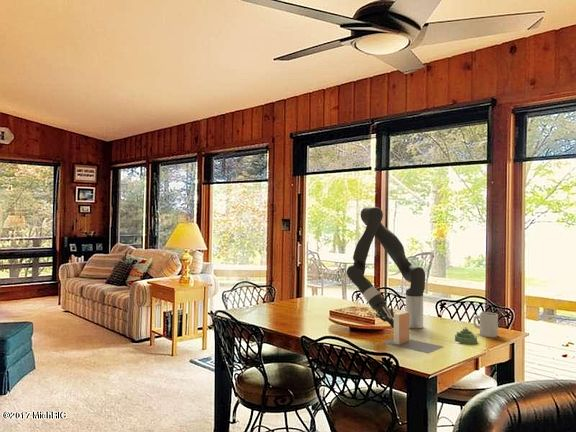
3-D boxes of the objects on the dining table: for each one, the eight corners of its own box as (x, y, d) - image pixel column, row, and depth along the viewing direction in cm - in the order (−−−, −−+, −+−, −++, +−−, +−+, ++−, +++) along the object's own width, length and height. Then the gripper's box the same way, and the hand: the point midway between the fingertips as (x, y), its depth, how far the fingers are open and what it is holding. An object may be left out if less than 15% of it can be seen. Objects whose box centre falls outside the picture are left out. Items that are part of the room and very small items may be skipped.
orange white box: (393, 343, 218) (393, 313, 218) (403, 339, 224) (403, 310, 224) (399, 344, 216) (399, 314, 216) (409, 341, 222) (409, 311, 222)
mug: (500, 335, 235) (500, 313, 235) (494, 338, 229) (494, 316, 229) (476, 331, 244) (476, 310, 244) (470, 334, 237) (470, 312, 237)
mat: (381, 344, 219) (381, 342, 219) (398, 338, 230) (398, 336, 230) (428, 354, 202) (428, 353, 202) (444, 347, 213) (444, 346, 213)
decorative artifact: (480, 341, 224) (461, 337, 231) (480, 327, 224) (461, 323, 231) (470, 345, 217) (451, 341, 225) (470, 330, 217) (451, 326, 225)
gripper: (370, 295, 225) (392, 324, 216) (385, 291, 234) (407, 320, 225) (361, 304, 229) (382, 333, 220) (377, 301, 238) (397, 328, 229)
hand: (395, 326), depth 223 cm, fingers closed
